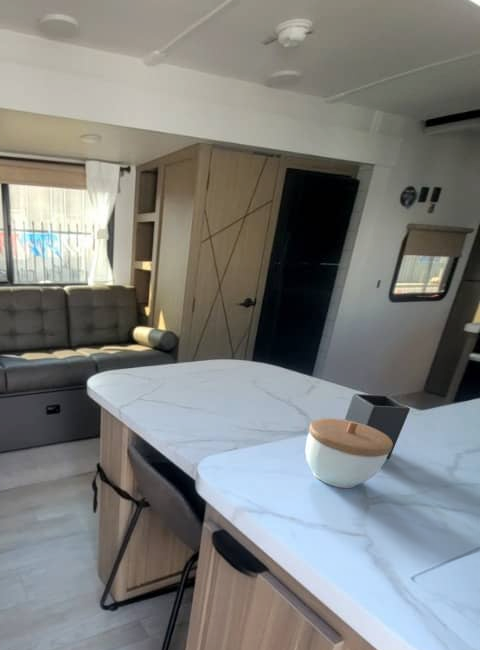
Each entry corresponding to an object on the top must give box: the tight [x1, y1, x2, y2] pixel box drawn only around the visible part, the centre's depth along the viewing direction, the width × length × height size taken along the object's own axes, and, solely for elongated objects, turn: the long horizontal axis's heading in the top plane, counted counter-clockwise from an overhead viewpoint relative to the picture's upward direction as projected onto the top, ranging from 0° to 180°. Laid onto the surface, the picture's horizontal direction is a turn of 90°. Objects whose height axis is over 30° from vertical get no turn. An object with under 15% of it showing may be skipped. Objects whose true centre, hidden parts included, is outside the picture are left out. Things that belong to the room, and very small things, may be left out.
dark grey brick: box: [344, 393, 411, 460], centre depth 82 cm, size 11×7×7 cm
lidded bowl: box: [304, 417, 393, 489], centre depth 72 cm, size 13×13×11 cm
